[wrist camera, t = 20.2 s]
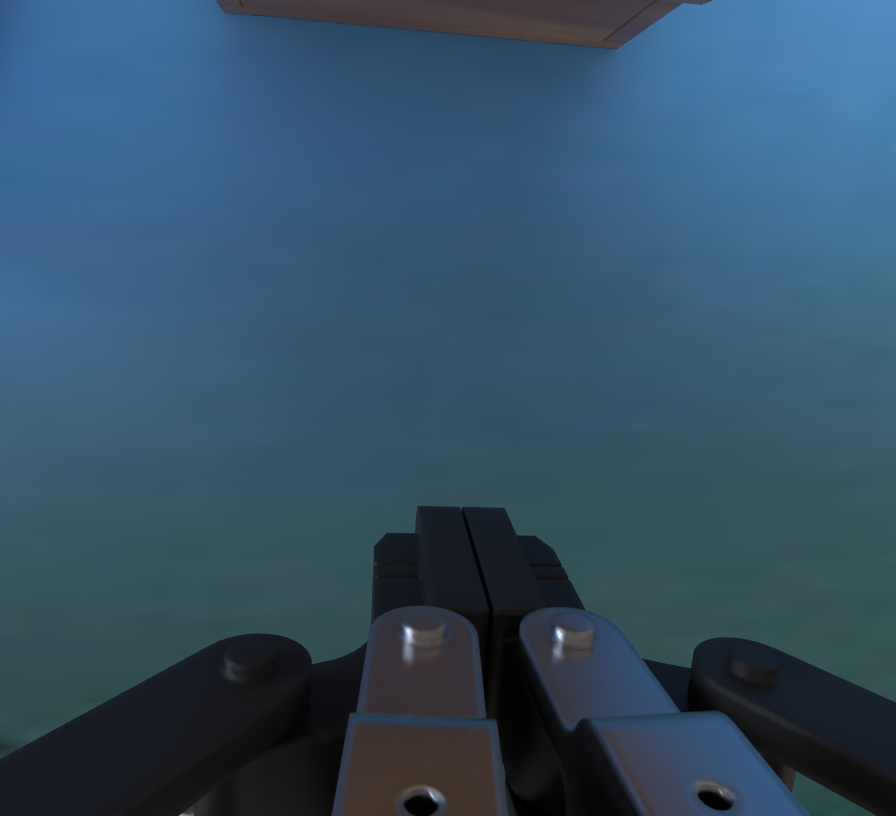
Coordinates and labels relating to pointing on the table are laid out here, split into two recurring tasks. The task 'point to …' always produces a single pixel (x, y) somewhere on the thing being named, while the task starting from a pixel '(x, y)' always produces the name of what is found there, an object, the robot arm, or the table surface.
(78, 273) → the table surface
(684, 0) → the lid
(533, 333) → the table surface
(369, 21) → the chest
